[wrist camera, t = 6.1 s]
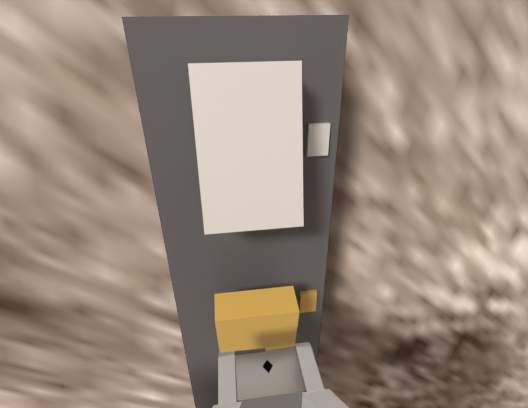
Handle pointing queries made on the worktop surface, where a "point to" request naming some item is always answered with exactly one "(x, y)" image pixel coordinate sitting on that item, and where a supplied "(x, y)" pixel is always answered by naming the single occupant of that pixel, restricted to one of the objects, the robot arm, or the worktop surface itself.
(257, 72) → the plate
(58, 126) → the worktop surface
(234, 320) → the block
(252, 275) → the power strip
